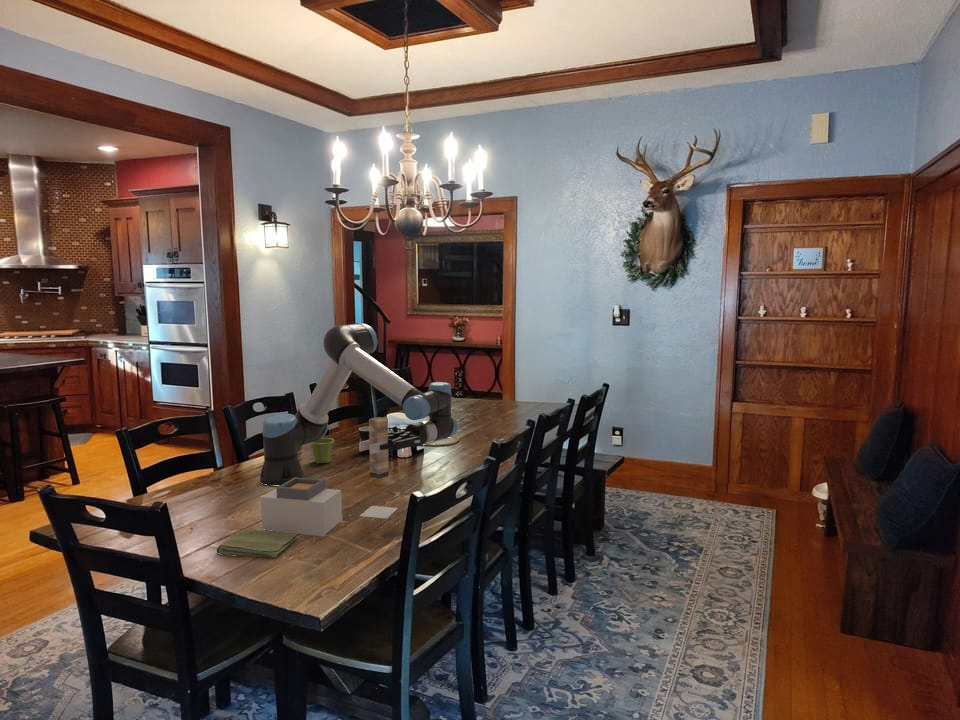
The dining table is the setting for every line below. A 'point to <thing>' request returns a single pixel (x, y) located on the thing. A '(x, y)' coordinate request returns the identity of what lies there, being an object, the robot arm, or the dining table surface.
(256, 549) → the washcloth
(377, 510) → the white paper sheet
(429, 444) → the serving platter
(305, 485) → the button
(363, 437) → the coffee mug
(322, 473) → the dining table surface
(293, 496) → the switch box
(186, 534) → the dining table surface
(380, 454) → the beige tall cylinder
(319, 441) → the plant pot
